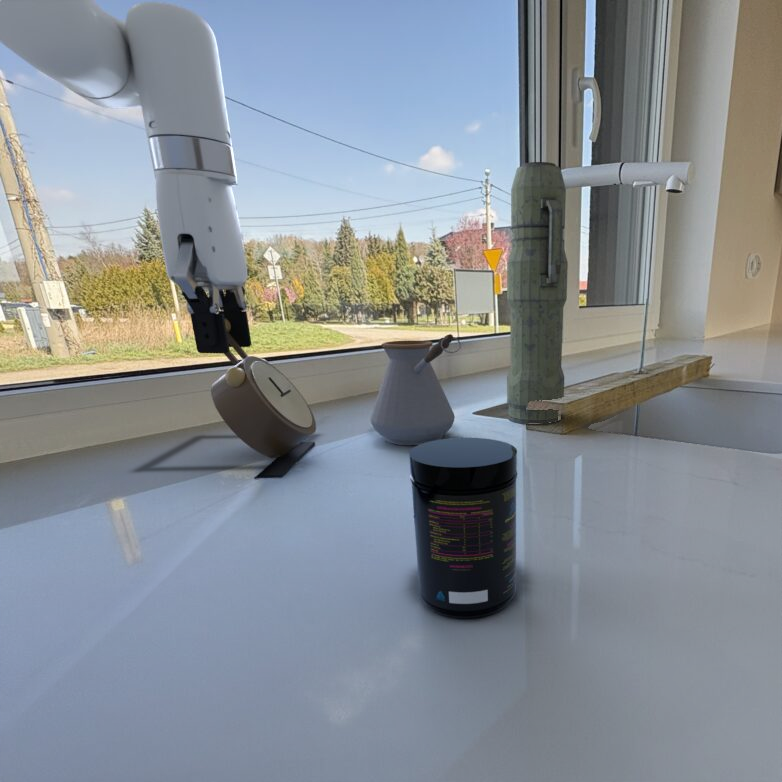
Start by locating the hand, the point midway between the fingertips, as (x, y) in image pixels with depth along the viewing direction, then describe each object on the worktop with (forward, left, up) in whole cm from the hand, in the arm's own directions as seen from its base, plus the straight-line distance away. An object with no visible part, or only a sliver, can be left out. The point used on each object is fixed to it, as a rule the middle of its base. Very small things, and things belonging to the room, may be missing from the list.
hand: (225, 348), depth 64 cm
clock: (0, 0, -6) cm, 6 cm away
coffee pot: (+21, +5, -14) cm, 26 cm away
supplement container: (+27, -34, -14) cm, 46 cm away
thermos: (+37, +21, -14) cm, 45 cm away
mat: (-1, 0, -13) cm, 13 cm away
